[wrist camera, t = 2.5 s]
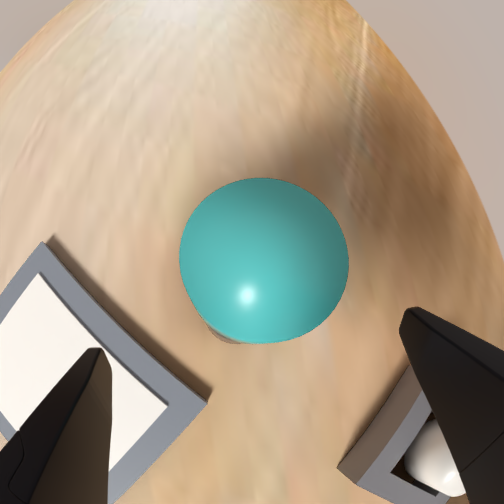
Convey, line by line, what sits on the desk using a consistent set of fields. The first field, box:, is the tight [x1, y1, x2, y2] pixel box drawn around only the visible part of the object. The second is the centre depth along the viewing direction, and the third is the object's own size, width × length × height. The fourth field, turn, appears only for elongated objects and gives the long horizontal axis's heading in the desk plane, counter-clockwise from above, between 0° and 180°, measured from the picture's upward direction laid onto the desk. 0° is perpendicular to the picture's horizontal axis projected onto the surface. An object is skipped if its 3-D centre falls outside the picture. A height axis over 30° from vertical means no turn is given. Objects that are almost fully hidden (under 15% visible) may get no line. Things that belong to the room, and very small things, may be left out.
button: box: [404, 419, 466, 497], centre depth 12 cm, size 4×4×4 cm
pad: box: [0, 242, 208, 504], centre depth 15 cm, size 14×12×1 cm
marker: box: [179, 178, 349, 344], centre depth 12 cm, size 4×4×12 cm
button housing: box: [337, 365, 451, 504], centre depth 15 cm, size 8×8×3 cm
